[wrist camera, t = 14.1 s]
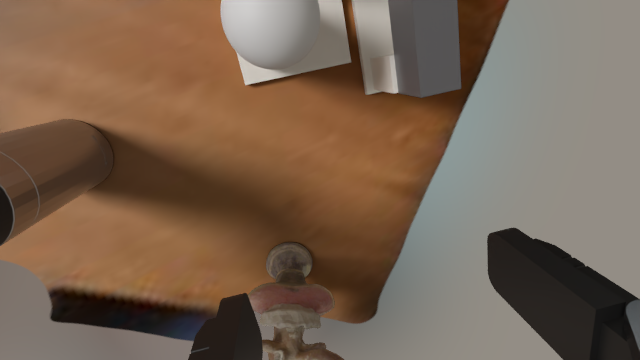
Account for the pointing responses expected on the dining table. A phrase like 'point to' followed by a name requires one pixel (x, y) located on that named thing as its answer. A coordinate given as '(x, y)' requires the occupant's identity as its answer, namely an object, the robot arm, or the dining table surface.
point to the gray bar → (425, 46)
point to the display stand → (309, 38)
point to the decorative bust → (291, 305)
